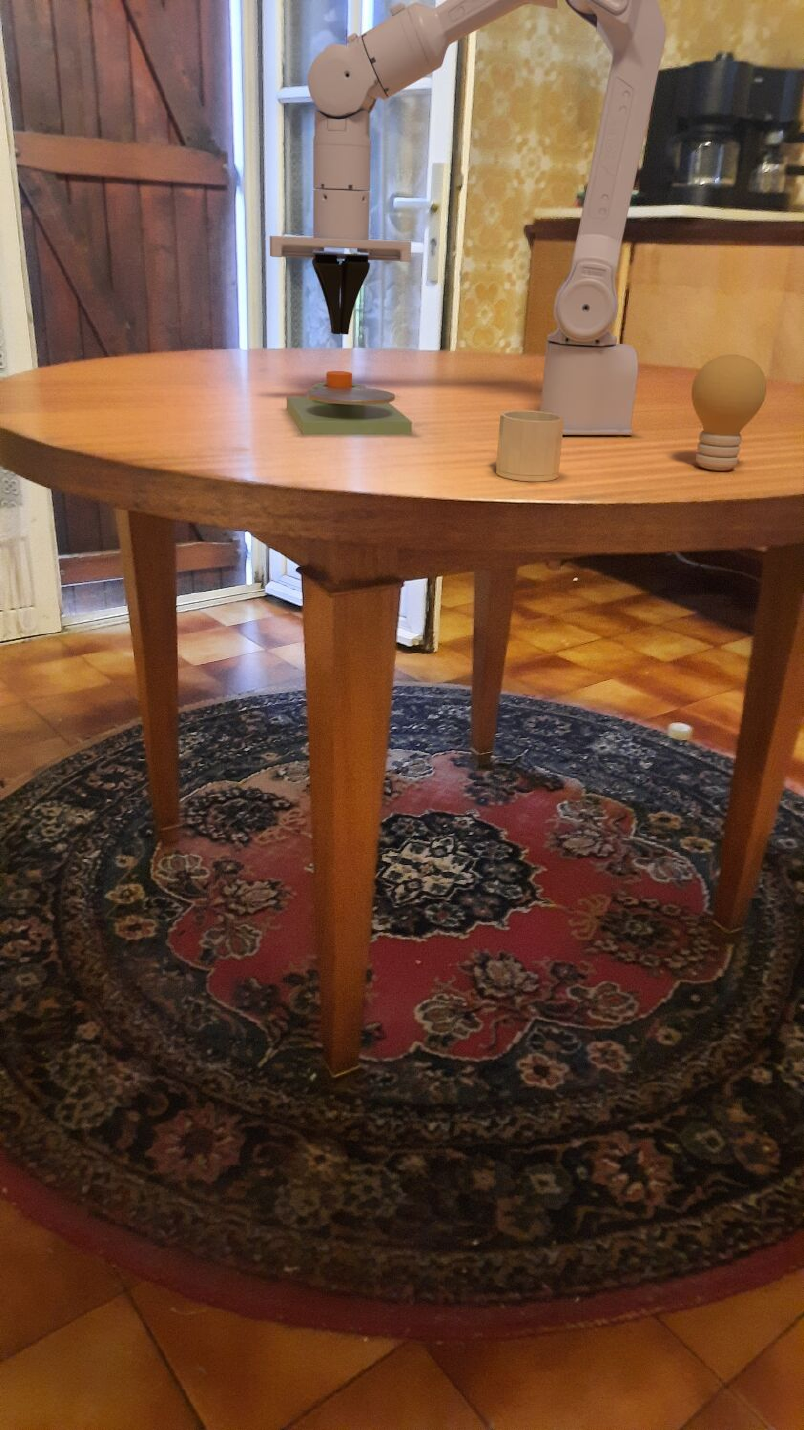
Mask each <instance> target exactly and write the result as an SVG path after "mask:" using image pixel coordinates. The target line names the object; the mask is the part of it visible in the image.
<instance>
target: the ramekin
mask: <svg viewBox="0 0 804 1430" xmlns="http://www.w3.org/2000/svg"><path fill="white" fill-rule="evenodd" d="M498 425H499V426H498V439H497V452H496V461H495V462H496V465H495V468H496V469H495V473H496V475H497V476H499V477H502V478H503V479H504V478H505V479H507V480H512V481H519V482H531V483H532V482H533V483H534V482H535V483H536V482H549V481H553V480H557V479H558V477H559V471H560V464H561V454H562V445H563V436H564V435H563V427H564V417H563V416H561V415H558V414H554V413H549V412H542V411H540V410H527V409H526V410H525V409H523V410H520V409H519V410H518V409H517V410H516V409H515V410H507V411H503V412H500V415H499V424H498Z"/></svg>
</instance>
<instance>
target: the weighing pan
mask: <svg viewBox="0 0 804 1430" xmlns="http://www.w3.org/2000/svg"><path fill="white" fill-rule="evenodd" d="M306 397H308V398H310V399H312V400H315V401H320V402H326V403H334V404H348V405H371V404H383V403H388V402H389V403H392V402H394V401H395V399H396V395H395V394H394V393H393V392H391V391H387V390H383V389H376V388H371V387H366V388H358V387H326V388H317V389H309V390H308V391H306Z"/></svg>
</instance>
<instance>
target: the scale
mask: <svg viewBox="0 0 804 1430" xmlns="http://www.w3.org/2000/svg"><path fill="white" fill-rule="evenodd" d="M352 387H358V388H367V387H366V386H365V385H364V384H359V383H354V382H352ZM311 388H312V389H317V388H326V381H324V382H316V383H314V384H312V387H311ZM312 389H311V390H312ZM286 410H287V413H288V414H289V415H290V417H291V419H292V420H293V422H294V423H295V425H296V426H297V428H298V430H299V431H300V433H301V435H302V436H412V429H413V422H412V421H411V420H410V419H409V417H407V416H406V415H405V414H403V413H402V412H401V411H400V410H398V409H397V408H396V407H395V406H394V405H392V404H391V402H388V403H383V404H371V405H348V404H334V403H326V402H320V401H315V400H312V399H310V398H308V397H307V396H286Z"/></svg>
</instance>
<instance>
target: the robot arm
mask: <svg viewBox="0 0 804 1430" xmlns="http://www.w3.org/2000/svg"><path fill="white" fill-rule="evenodd" d="M564 2H565V3H566V5H567V6H568V7H569V9H571V11H572V12H574V13H575V14H576V15H577V16H579V17H580V18H581V19H582V20H584V21H585V22H587V23H588V24H590V25H591V26H593V28H595V31H596V32H597V34H598V35H599V37H600V39H601V40H602V41H603V43H604V45H605V46H606V47H607V49H608V51H609V52H610V54H611V56H612V57H611V58H612V59H611V64H610V70H609V75H608V79H607V85H606V88H605V95H604V99H603V104H602V110H601V114H600V120H599V125H598V130H597V135H596V140H595V144H594V150H593V153H592V154H593V155H592V160H591V165H590V171H589V176H588V180H587V185H586V189H585V196H584V200H583V205H582V211H581V216H580V221H579V226H578V231H577V235H576V241H575V246H574V250H573V254H572V259H571V266H570V269H569V272H568V274H567V276H566V278H565V279H564V280H563V281H562V282H561V284H560V285H559V287H558V289H557V292H556V295H555V299H554V303H553V316H554V317H553V318H554V321H555V324H556V325H557V328H556V330H555V331H553V332H552V333H549V334H547V335H546V343H545V352H544V353H545V354H544V363H543V364H544V365H543V375H542V387H541V396H540V406H539V411H542V412H549V413H554V414H558V415H561V416H563V417H564V427H563V436H633V435H634V430H633V429H632V424H633V417H634V410H635V409H634V408H635V401H636V393H637V387H638V380H639V358H638V353H637V351H636V349H635V348H634V347H633V345H630V344H626V343H618V337H617V336H616V335H613V334H612V333H611V332H610V330H611V329H612V327H613V325H614V323H615V322H616V319H617V317H618V313H619V298H618V293H617V290H616V289H617V288H616V278H617V277H616V276H617V271H618V266H619V260H620V254H621V247H622V242H623V237H624V234H625V233H624V232H625V229H626V223H627V219H628V215H629V209H630V204H631V201H632V196H633V191H634V186H635V181H636V178H637V177H636V176H637V173H638V168H639V164H640V160H641V159H640V158H641V154H642V148H643V144H644V140H645V137H646V131H647V128H648V127H647V126H648V122H649V119H650V118H649V117H650V113H651V108H652V103H653V98H654V94H655V89H656V85H657V80H658V75H659V70H660V66H661V63H662V57H663V52H664V48H665V43H666V38H667V28H666V23H665V19H664V16H663V13H662V10H661V7H660V3H659V0H564ZM525 5H532V6H538V7H543V8H548V9H558V0H445V1H443V2H442V3H440V4H439V5H437V6H436V7H430V6H427V5H424V4H423V3H419V2H416V1H415V2H413V3H411V4H409V5H408V6H407V7H406V6H405V4H404V3H403V2H402V1H399V2H398V3H396V4H395V5H393V6H392V7H390V9H389V11H390V14H391V16H390V17H388V18H387V19H385V20H383V21H382V22H380V23H378V24H377V25H375V26H373V27H372V28H370V29H369V30H367V31H365V32H363V33H362V34H361V35H359V36H358V34H357V33H356V32H353V33H351V34H350V35H348V36H347V37H346V38H345V39H346V42H347V45H344V44H339V43H335V44H334V43H333V44H328V45H327V46H326V47H325V48H324V49H323V50H322V52H320V53H319V54H318V55H317V56H316V57H315V58H314V59H313V61H312V63H311V65H310V67H309V71H308V74H307V87H308V93H309V95H310V98H311V100H312V102H313V103H314V105H315V107H317V108H314V123H313V124H314V136H313V138H312V139H313V141H312V145H313V146H312V147H313V148H312V149H313V151H312V152H313V154H312V155H313V157H312V158H313V159H312V161H313V162H312V165H313V167H312V169H313V171H312V173H313V176H312V179H313V180H312V181H313V183H312V185H313V187H312V190H313V191H312V192H313V193H312V194H313V196H312V197H313V200H312V201H313V202H312V204H313V205H312V206H313V208H312V209H313V211H312V212H313V213H312V215H313V216H312V217H313V218H312V220H313V221H312V225H313V227H312V235H313V236H287V235H270V236H269V257H272V258H306V259H311V264H312V267H313V271H314V273H315V275H316V277H317V281H318V283H319V286H320V288H321V290H322V294H323V298H324V301H325V304H326V308H327V312H328V317H329V325H330V333H331V334H332V335H349V333H350V326H351V320H352V316H353V312H354V309H355V305H356V302H357V299H358V296H359V294H360V292H361V289H362V287H363V284H364V282H365V280H366V278H367V276H368V274H369V271H370V268H371V263H370V262H369V261H386V262H387V261H389V262H401V263H402V262H405V263H411V261H412V260H411V259H412V241H408V240H407V241H406V240H385V239H384V240H383V239H370V238H369V236H370V235H369V234H370V198H371V197H370V194H371V193H370V189H371V187H370V186H371V151H372V149H371V148H372V147H371V146H372V145H371V143H372V142H371V139H370V127H371V125H370V124H371V113H372V111H373V110H374V108H375V106H376V104H377V100H378V99H381V100H384V101H385V100H387V99H389V98H390V97H392V96H394V95H396V94H397V93H399V92H401V91H403V90H404V89H406V88H408V87H410V86H411V85H413V84H414V83H416V82H418V81H420V80H422V79H423V78H425V77H427V76H429V75H430V74H432V73H433V72H435V71H437V70H438V69H440V68H442V66H443V63H444V60H445V57H446V53H447V50H448V48H449V47H450V45H451V44H453V43H455V42H458V41H459V40H461V39H463V38H464V37H467V36H469V35H471V34H473V33H474V32H476V31H478V30H480V29H481V28H484V27H486V26H488V25H489V24H491V23H492V22H493V23H494V22H495V21H496V20H499V19H500V18H502V17H504V16H506V15H508V14H510V13H511V12H513V11H515V10H517V9H519V8H521V7H524V6H525ZM325 248H332V249H352V250H353V249H355V250H356V252H357V253H337V252H336V253H335V252H333V253H332V252H325ZM339 260H341V262H340V261H339Z"/></svg>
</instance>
